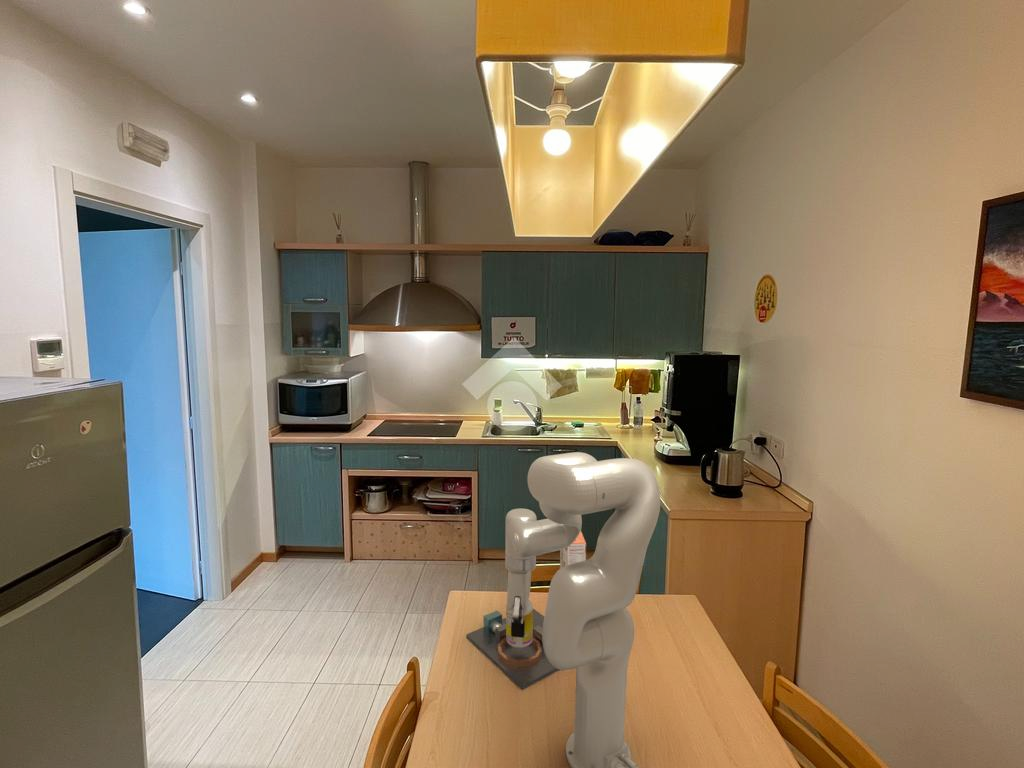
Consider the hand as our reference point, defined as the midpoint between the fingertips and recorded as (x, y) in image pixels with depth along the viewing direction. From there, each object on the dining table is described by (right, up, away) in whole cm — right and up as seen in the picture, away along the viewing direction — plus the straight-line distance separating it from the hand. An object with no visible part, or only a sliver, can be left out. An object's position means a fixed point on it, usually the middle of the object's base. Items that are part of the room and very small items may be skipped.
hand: (519, 626), depth 131 cm
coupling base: (+2, -7, +5) cm, 9 cm away
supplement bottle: (0, -4, +1) cm, 4 cm away
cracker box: (+16, -4, +28) cm, 32 cm away
